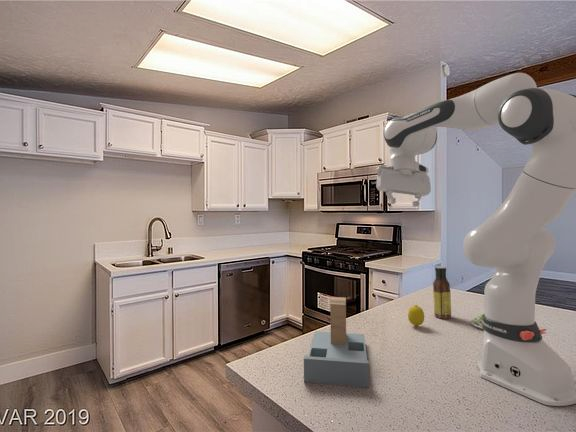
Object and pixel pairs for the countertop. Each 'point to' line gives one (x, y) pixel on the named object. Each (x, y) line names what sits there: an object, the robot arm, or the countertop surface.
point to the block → (338, 320)
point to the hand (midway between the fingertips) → (404, 204)
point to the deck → (337, 361)
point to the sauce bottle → (441, 294)
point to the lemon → (416, 315)
